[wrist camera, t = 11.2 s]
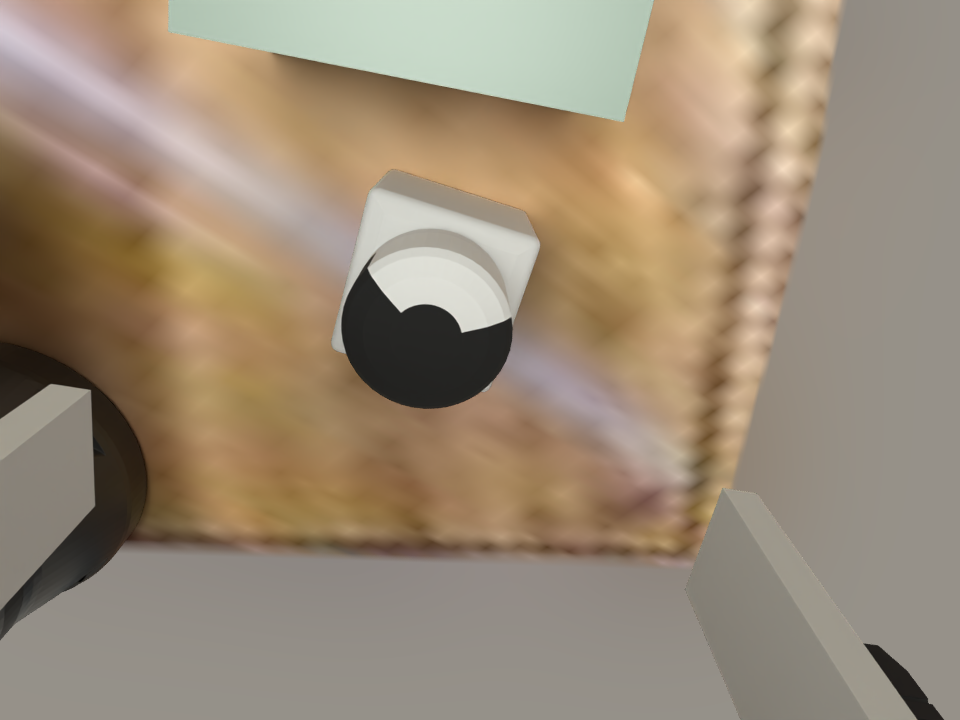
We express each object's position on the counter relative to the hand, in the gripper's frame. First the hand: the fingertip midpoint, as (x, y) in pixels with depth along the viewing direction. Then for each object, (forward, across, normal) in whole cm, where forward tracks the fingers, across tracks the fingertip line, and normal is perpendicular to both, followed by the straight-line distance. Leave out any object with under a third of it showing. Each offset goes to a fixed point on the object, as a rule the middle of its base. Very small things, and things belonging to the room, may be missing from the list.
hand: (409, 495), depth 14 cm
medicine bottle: (+22, 0, 0) cm, 22 cm away
